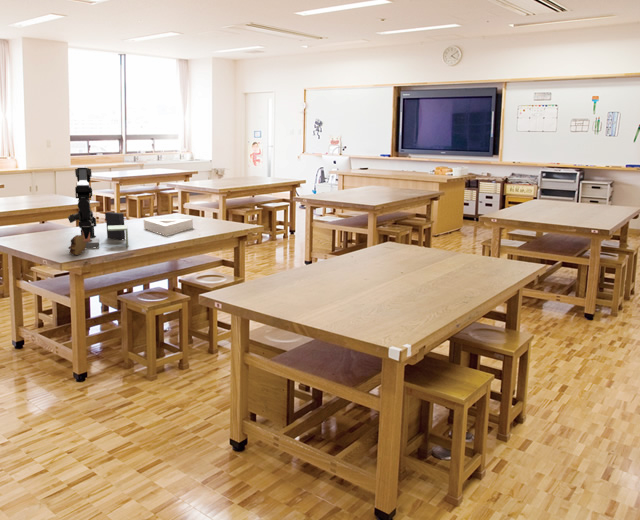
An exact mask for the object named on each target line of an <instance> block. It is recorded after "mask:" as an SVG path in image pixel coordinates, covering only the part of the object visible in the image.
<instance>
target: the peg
mask: <svg viewBox="0 0 640 520" xmlns="http://www.w3.org/2000/svg"><path fill="white" fill-rule="evenodd" d="M82 233H83V230H82ZM83 236H84V233H83ZM90 239H91V238H90V232H89V235H88V238H87V239H85V236H84V240H83V242H91V241H90Z"/></svg>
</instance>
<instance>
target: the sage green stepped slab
mask: <svg viewBox="0 0 640 520" xmlns="http://www.w3.org/2000/svg"><path fill="white" fill-rule="evenodd" d="M116 230H125V243H126V247H127V246H128V247H129V233H128V232H129V231H128V225H127V224H124V225H114V226H108V231H116Z"/></svg>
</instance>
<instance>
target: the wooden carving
mask: <svg viewBox="0 0 640 520" xmlns="http://www.w3.org/2000/svg"><path fill="white" fill-rule="evenodd" d="M83 240H84V236H83V235H81V234H76V235H75V236H73V237H72V238H71V239H70V246H69V247H68V249H69V254H71V255H74V256H79V255H78V254H80V253H81V254H82V253H83V252H85V250H86V249H85V246H86V242H83ZM81 254H80V255H81Z"/></svg>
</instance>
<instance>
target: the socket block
mask: <svg viewBox="0 0 640 520" xmlns="http://www.w3.org/2000/svg"><path fill="white" fill-rule="evenodd" d="M90 241H91V242H86V246H85V248H88V249H94V248H93V247H96V248H95V249H98V248H97V247H99V248H100V238H90Z"/></svg>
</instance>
